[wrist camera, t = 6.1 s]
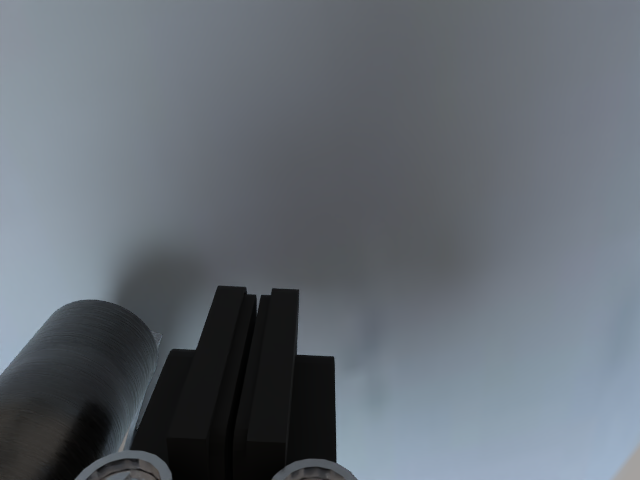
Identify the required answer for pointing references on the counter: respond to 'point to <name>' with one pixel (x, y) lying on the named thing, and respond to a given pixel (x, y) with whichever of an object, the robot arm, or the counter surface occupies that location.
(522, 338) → the counter surface
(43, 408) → the crank
